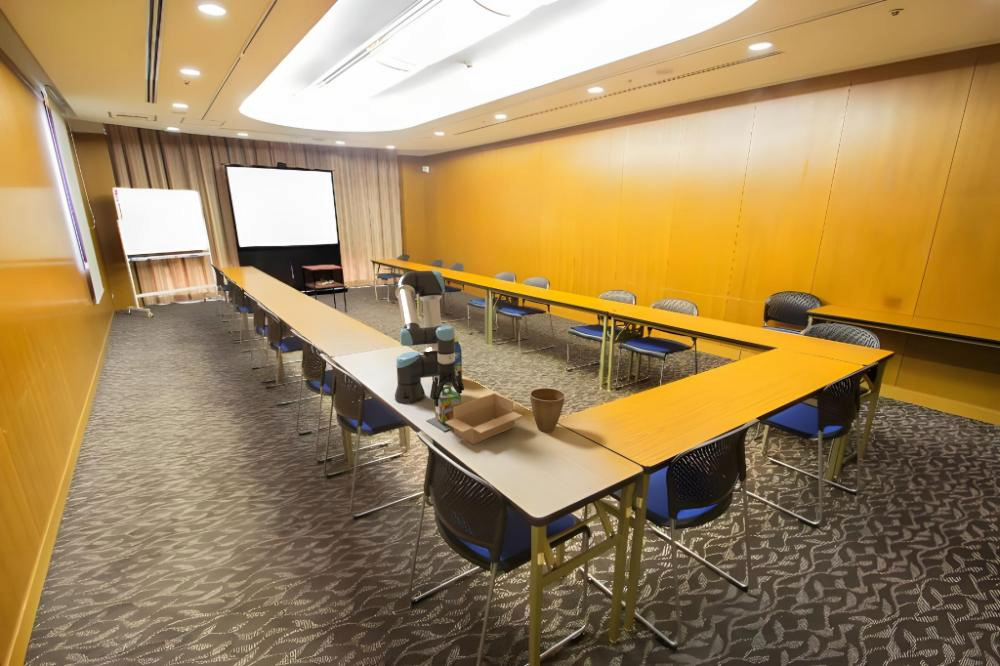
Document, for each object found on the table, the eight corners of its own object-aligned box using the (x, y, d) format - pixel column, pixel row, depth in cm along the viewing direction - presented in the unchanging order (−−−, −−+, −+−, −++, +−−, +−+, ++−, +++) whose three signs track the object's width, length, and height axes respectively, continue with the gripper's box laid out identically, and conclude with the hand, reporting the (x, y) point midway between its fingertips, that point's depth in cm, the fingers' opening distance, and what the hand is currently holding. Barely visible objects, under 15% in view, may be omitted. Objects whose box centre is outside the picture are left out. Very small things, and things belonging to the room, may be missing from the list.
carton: (444, 436, 183) (443, 410, 180) (494, 417, 201) (494, 393, 198) (471, 452, 170) (470, 424, 167) (522, 430, 188) (522, 404, 185)
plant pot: (560, 438, 181) (561, 402, 177) (525, 433, 185) (526, 398, 182) (566, 423, 195) (567, 389, 191) (533, 419, 199) (534, 386, 195)
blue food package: (462, 380, 249) (461, 337, 243) (445, 385, 241) (444, 341, 235) (455, 377, 254) (454, 335, 248) (438, 382, 245) (437, 339, 239)
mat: (426, 421, 197) (426, 420, 197) (451, 412, 206) (451, 411, 206) (444, 432, 187) (444, 430, 187) (470, 422, 196) (470, 421, 196)
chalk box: (443, 424, 190) (441, 393, 186) (434, 417, 197) (433, 386, 193) (462, 419, 195) (461, 388, 191) (453, 412, 202) (451, 382, 198)
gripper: (429, 369, 179) (431, 419, 185) (471, 358, 194) (472, 405, 199) (419, 365, 185) (422, 413, 190) (461, 354, 199) (462, 400, 205)
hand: (447, 409), depth 195 cm, fingers closed on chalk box, 10 cm apart
